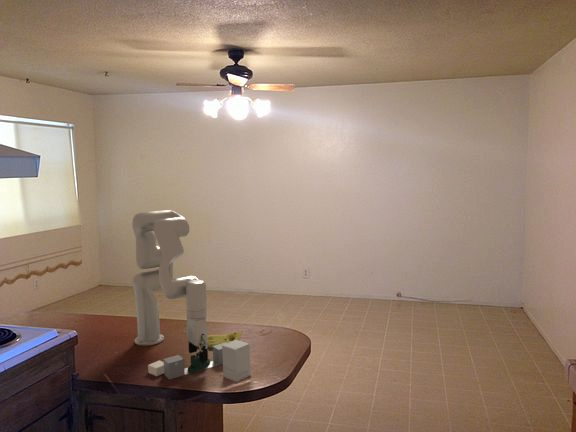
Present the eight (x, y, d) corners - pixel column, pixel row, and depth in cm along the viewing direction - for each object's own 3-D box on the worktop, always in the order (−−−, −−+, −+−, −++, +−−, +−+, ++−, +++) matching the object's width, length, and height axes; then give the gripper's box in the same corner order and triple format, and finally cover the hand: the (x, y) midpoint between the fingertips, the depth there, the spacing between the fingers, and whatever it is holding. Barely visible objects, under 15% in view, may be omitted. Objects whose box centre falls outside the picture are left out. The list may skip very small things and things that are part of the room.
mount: (204, 361, 186) (203, 348, 186) (213, 363, 184) (212, 350, 183) (184, 371, 177) (184, 358, 176) (193, 374, 175) (192, 361, 174)
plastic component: (194, 344, 200) (201, 327, 208) (199, 356, 204) (206, 339, 212) (237, 344, 195) (244, 326, 203) (242, 356, 199) (248, 339, 207)
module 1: (164, 374, 175) (163, 358, 174) (179, 370, 178) (178, 354, 178) (169, 379, 171) (168, 363, 170) (184, 374, 174) (184, 359, 173)
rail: (164, 376, 175) (164, 374, 175) (226, 358, 190) (226, 356, 190) (169, 381, 171) (169, 379, 171) (232, 362, 186) (232, 360, 186)
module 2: (213, 360, 186) (212, 345, 186) (226, 356, 190) (226, 342, 189) (219, 364, 182) (218, 349, 181) (232, 360, 185) (232, 346, 185)
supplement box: (251, 376, 173) (250, 343, 172) (236, 384, 167) (235, 349, 166) (237, 371, 178) (236, 339, 176) (222, 378, 172) (221, 344, 171)
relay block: (148, 375, 177) (148, 364, 176) (159, 370, 181) (159, 360, 180) (156, 378, 174) (156, 368, 173) (167, 373, 177) (167, 363, 177)
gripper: (178, 309, 183) (180, 351, 185) (197, 321, 169) (198, 367, 171) (196, 305, 187) (197, 346, 189) (216, 317, 173) (217, 361, 175)
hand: (198, 356), depth 180 cm, fingers open, 9 cm apart
